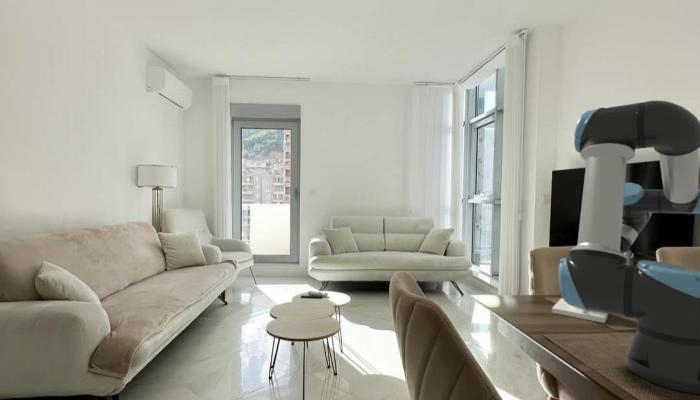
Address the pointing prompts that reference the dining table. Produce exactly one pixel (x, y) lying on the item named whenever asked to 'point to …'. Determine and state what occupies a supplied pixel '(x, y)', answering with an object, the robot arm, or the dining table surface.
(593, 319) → the trivet
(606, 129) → the robot arm
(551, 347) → the dining table surface
